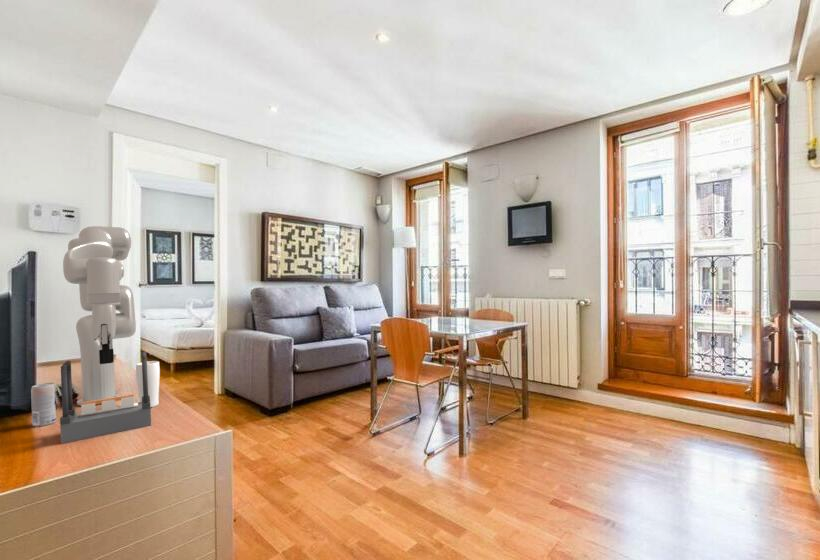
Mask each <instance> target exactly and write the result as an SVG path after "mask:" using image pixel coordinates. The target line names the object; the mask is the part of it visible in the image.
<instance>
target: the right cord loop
mask: <svg viewBox="0 0 820 560" xmlns="http://www.w3.org/2000/svg"><path fill="white" fill-rule="evenodd" d="M147 362H148V359H147V352H146V351H143V352H141V363H142V376H143V397H142V410H145V409H150V410H151V408H150V396H148V378H147Z"/></svg>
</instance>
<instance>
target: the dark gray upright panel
mask: <svg viewBox="0 0 820 560" xmlns="http://www.w3.org/2000/svg"><path fill="white" fill-rule="evenodd" d="M60 383H61V386H60V387H61V388H60V389H61V405H62V409H61V411H62V416H61V417H60V418H59V424H60V425H63V424H69V423H71V416H74V415H75V414H76V407H74V405H73V387H72V386H73V381H72V363H71V361H70V360H66V361H65V362H64V363H63V364H62V365H60Z"/></svg>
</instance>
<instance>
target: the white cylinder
mask: <svg viewBox="0 0 820 560" xmlns="http://www.w3.org/2000/svg"><path fill="white" fill-rule="evenodd" d="M160 376H161V368H160V361H158V360H151V361H150V360H149V361H148V360H147V378H148V396H150V409H152V408H154V407H157V406H158V405H159V403H160V402H159V399H160V397H159V395H160V393H159V392H160V380H161V379H160V378H161V377H160ZM135 377H136V383H137V385H136V386H137V391H138V397H139V402H142V397H143V376H142V362H139V363H136V364H135ZM151 407H152V408H151Z"/></svg>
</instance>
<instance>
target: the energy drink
mask: <svg viewBox="0 0 820 560" xmlns="http://www.w3.org/2000/svg"><path fill="white" fill-rule="evenodd" d="M55 389H56V386H55V384H54V383H53V382H47V383H39V384H35V385H32V386H31V389H30V400H31V419H32V420H31V424H32V427H34V426H35V428H40V427H39V426H41V427H45V426H49V424H50V425H52V424H54V423H56V421H57V414H56V413H57V411H56V410H57V409H56V390H55Z"/></svg>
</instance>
